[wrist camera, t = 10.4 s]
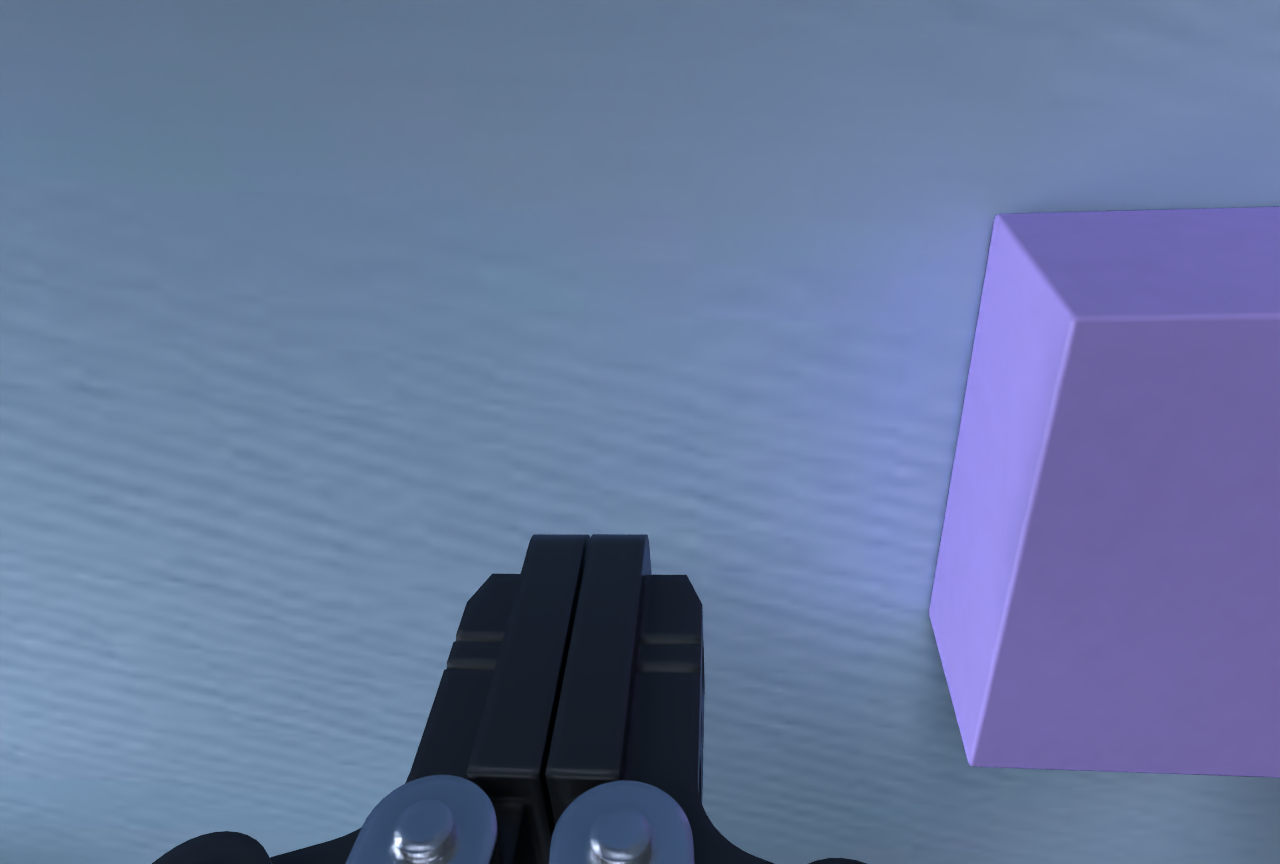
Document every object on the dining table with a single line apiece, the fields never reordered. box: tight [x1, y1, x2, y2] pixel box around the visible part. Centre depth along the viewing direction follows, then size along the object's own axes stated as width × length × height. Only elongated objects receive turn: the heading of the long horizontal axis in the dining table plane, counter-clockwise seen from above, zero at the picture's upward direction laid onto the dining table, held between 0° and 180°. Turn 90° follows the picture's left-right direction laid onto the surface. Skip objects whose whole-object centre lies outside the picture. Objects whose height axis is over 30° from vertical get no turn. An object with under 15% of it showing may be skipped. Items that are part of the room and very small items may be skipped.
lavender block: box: [929, 207, 1280, 778], centre depth 13 cm, size 8×5×4 cm, turn 3°
